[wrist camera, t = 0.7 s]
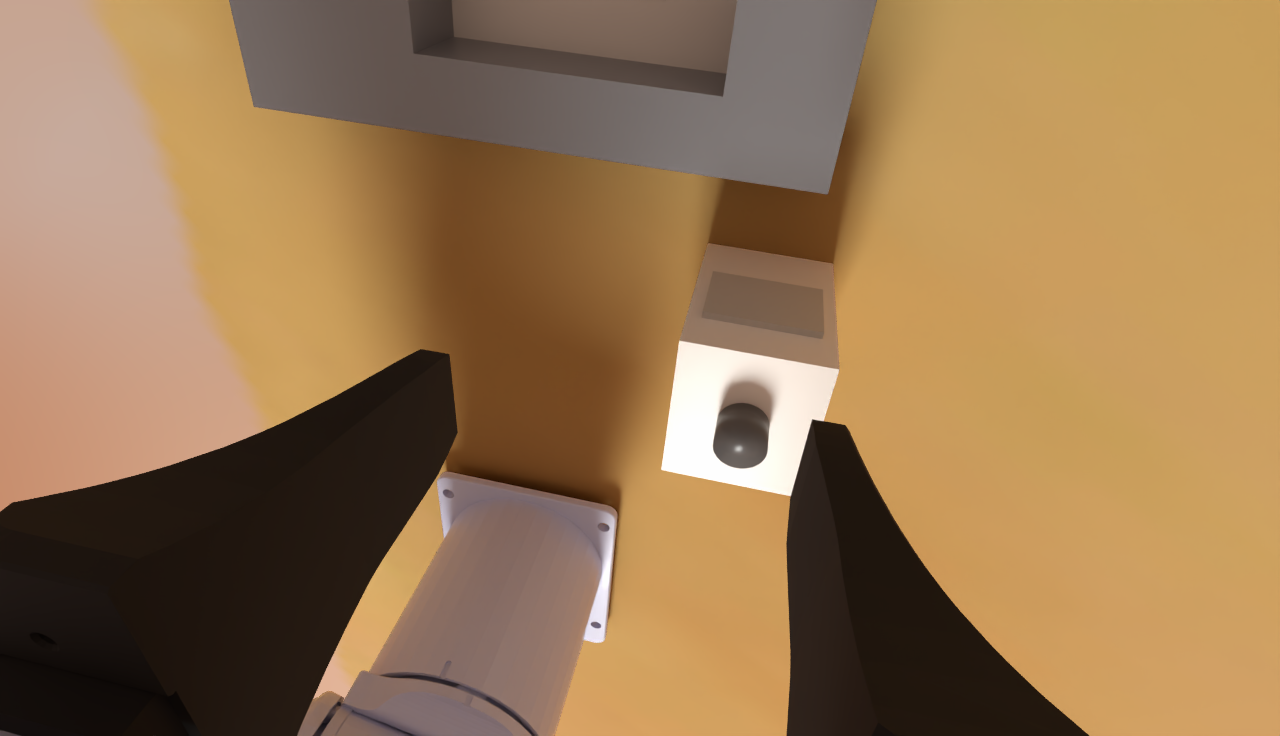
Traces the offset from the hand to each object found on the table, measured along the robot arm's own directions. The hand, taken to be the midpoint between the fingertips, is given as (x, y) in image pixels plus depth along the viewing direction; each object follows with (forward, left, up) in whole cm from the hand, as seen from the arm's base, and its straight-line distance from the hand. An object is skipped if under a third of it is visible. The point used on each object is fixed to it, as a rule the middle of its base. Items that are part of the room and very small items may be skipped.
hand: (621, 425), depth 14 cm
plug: (-3, -3, -10) cm, 11 cm away
